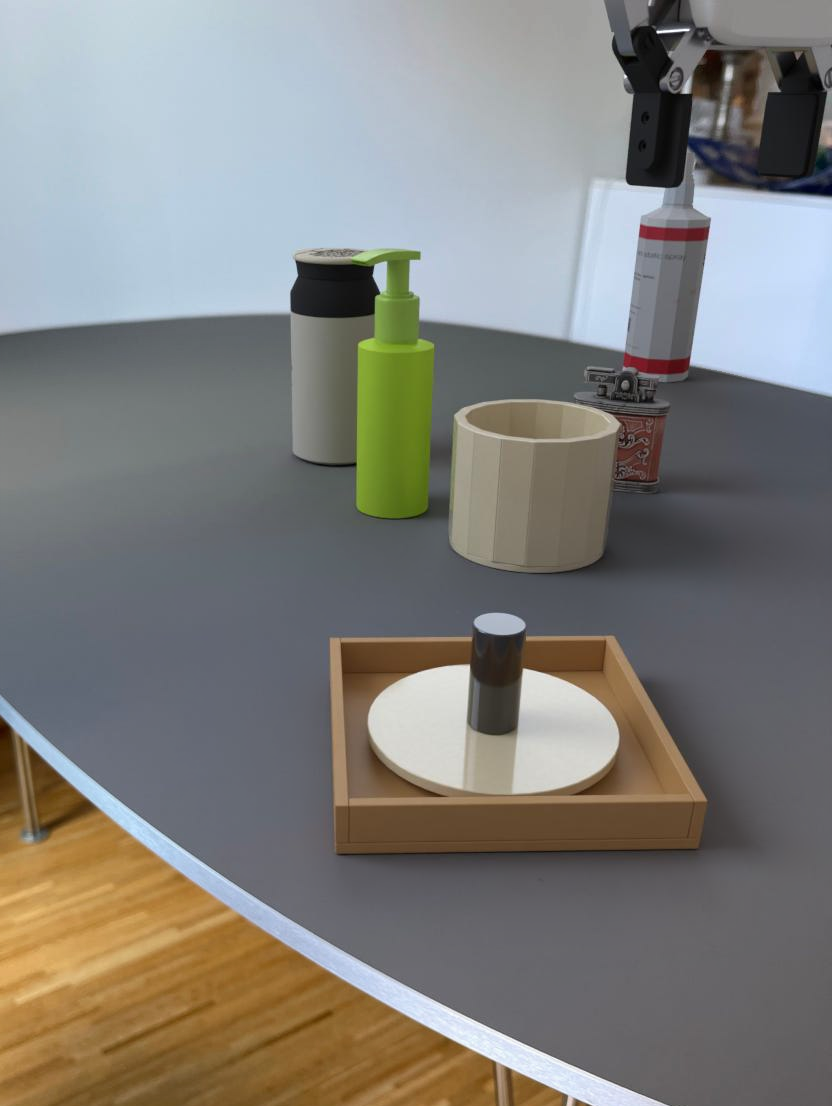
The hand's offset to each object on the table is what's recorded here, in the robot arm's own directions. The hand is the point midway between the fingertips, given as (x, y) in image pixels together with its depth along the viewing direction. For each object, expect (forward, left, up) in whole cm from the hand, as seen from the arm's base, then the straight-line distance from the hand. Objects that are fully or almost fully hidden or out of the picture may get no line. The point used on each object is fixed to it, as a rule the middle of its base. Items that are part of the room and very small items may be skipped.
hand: (721, 181), depth 54 cm
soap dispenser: (+15, -25, -26) cm, 39 cm away
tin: (+5, -17, -26) cm, 31 cm away
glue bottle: (-21, -73, -26) cm, 80 cm away
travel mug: (+19, -40, -26) cm, 51 cm away
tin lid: (+12, +12, -25) cm, 30 cm away
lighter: (-5, -31, -26) cm, 41 cm away
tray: (+12, +12, -26) cm, 31 cm away
